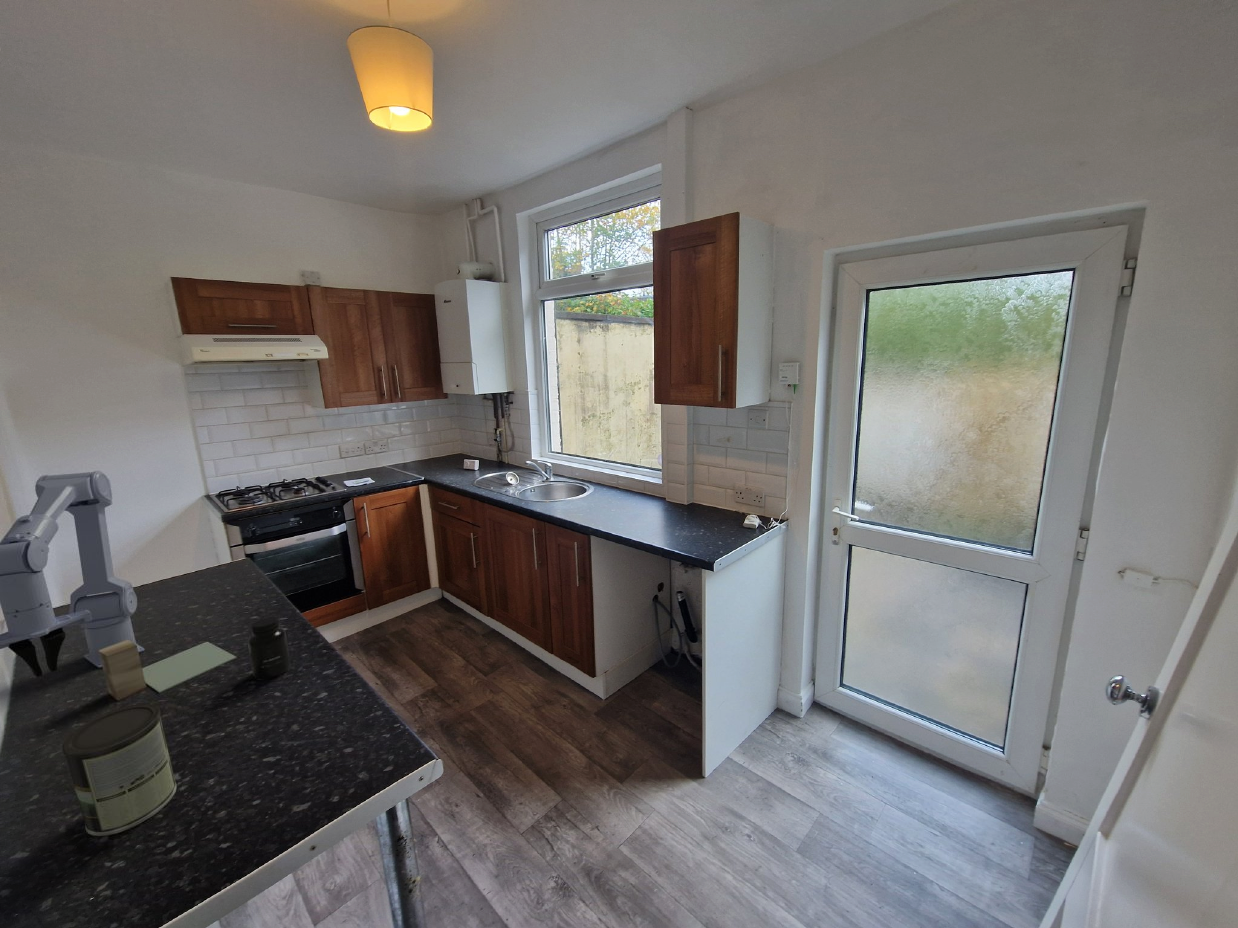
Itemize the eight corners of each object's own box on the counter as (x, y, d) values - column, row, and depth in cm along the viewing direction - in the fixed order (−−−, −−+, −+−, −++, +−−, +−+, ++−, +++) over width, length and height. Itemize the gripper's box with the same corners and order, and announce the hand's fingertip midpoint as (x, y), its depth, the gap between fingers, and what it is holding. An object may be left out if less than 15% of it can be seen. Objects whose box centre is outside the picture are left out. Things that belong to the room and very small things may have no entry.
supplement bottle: (272, 682, 106) (263, 631, 104) (245, 678, 107) (236, 628, 105) (298, 663, 113) (290, 615, 110) (273, 660, 114) (264, 612, 112)
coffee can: (63, 840, 71) (38, 755, 68) (126, 781, 81) (107, 705, 78) (140, 833, 72) (119, 750, 69) (193, 775, 82) (177, 700, 79)
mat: (132, 673, 110) (131, 672, 110) (207, 642, 122) (207, 641, 122) (159, 692, 103) (159, 691, 103) (236, 657, 115) (236, 656, 115)
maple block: (109, 693, 103) (98, 650, 101) (137, 681, 107) (127, 639, 105) (117, 700, 101) (107, 656, 99) (146, 687, 105) (136, 645, 103)
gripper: (-31, 629, 83) (-9, 701, 85) (90, 594, 95) (106, 657, 98) (-42, 619, 86) (-20, 689, 89) (77, 586, 98) (93, 648, 101)
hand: (45, 672), depth 93 cm, fingers closed
